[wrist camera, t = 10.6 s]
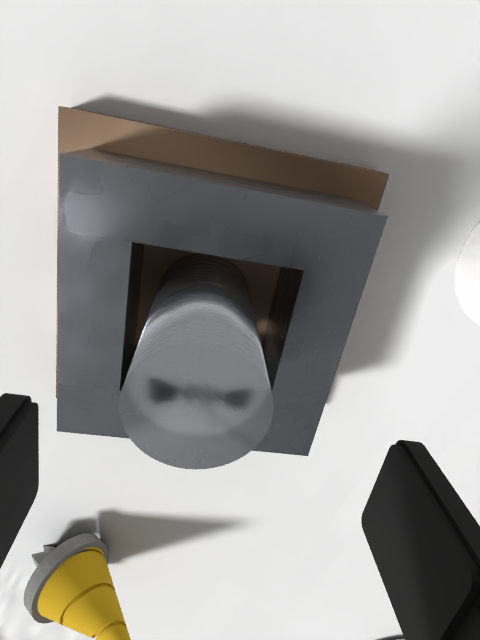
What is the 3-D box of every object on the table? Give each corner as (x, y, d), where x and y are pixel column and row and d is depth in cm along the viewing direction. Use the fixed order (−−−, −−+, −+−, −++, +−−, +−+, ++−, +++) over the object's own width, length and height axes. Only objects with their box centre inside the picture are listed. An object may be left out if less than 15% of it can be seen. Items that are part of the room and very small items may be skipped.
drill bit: (45, 501, 28) (140, 604, 22) (91, 518, 32) (182, 608, 26) (-17, 579, 26) (70, 713, 20) (41, 586, 30) (127, 699, 24)
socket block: (292, 404, 23) (307, 456, 20) (82, 380, 22) (56, 431, 18) (352, 198, 19) (387, 216, 15) (91, 148, 17) (59, 153, 13)
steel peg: (238, 343, 21) (254, 477, 13) (152, 329, 21) (112, 460, 12) (258, 262, 19) (290, 356, 11) (164, 244, 19) (127, 330, 11)
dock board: (303, 409, 25) (308, 425, 24) (65, 381, 23) (56, 397, 22) (376, 170, 20) (389, 173, 18) (70, 107, 18) (58, 106, 16)
